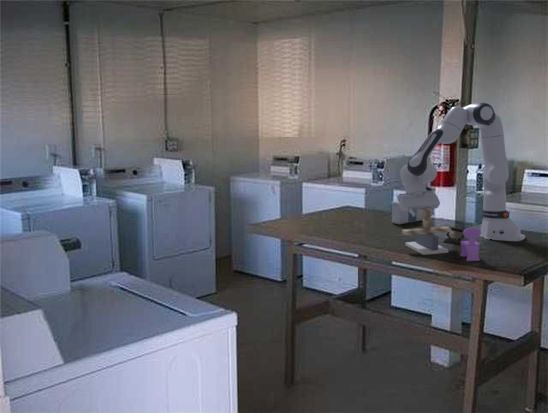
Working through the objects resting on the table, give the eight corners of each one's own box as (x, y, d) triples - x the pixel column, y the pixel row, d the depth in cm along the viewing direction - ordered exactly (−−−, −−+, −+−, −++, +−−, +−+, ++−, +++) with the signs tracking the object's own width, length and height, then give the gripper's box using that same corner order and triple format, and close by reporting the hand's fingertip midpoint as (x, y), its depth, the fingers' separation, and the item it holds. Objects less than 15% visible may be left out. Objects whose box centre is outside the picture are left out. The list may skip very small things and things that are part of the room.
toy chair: (475, 255, 285) (476, 224, 283) (482, 260, 277) (483, 227, 274) (457, 256, 285) (458, 224, 283) (464, 261, 276) (465, 228, 274)
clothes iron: (448, 240, 318) (454, 222, 315) (468, 249, 311) (473, 230, 308) (441, 242, 313) (447, 223, 310) (461, 250, 306) (467, 231, 303)
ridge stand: (405, 245, 308) (405, 229, 307) (429, 243, 311) (429, 228, 310) (423, 254, 289) (423, 238, 288) (448, 252, 292) (448, 236, 290)
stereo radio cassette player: (399, 225, 357) (400, 191, 354) (389, 223, 364) (390, 190, 360) (425, 220, 368) (425, 188, 365) (414, 219, 375) (415, 186, 372)
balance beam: (447, 230, 303) (447, 206, 301) (451, 232, 299) (451, 207, 297) (401, 233, 298) (402, 209, 296) (405, 235, 294) (405, 210, 292)
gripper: (398, 190, 304) (406, 213, 296) (436, 188, 308) (445, 210, 300) (394, 197, 309) (402, 220, 301) (431, 195, 313) (440, 217, 305)
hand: (423, 215), depth 301 cm, fingers open, 8 cm apart
